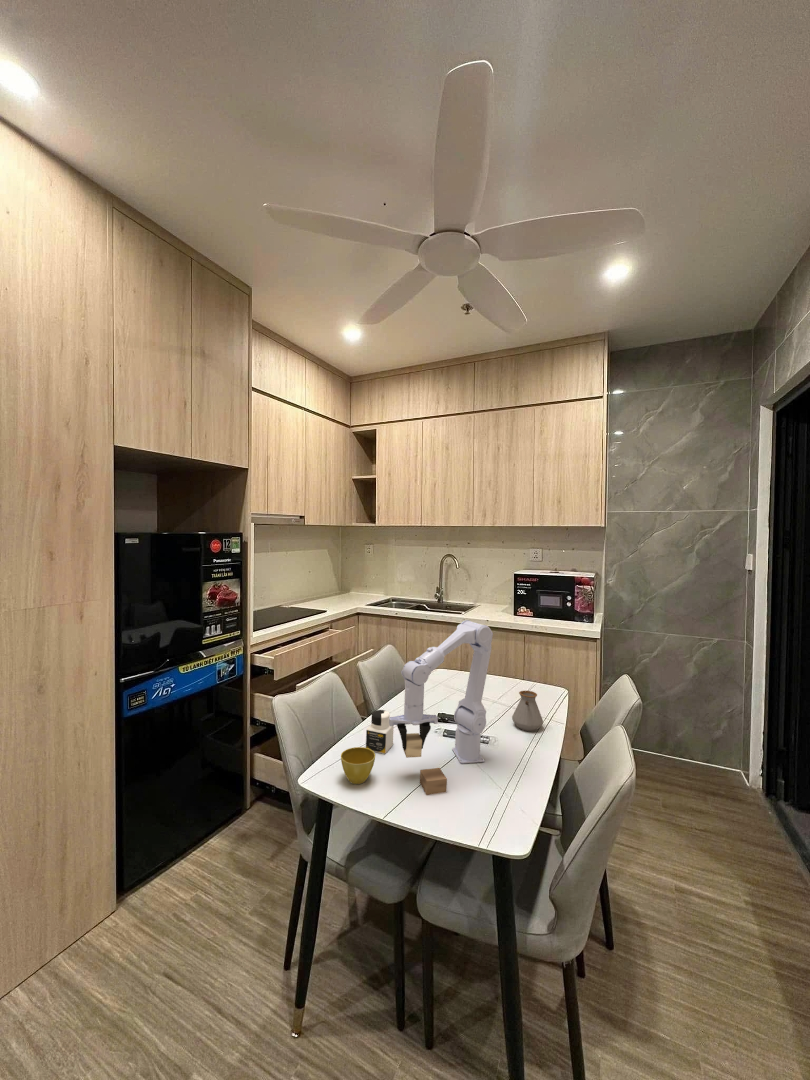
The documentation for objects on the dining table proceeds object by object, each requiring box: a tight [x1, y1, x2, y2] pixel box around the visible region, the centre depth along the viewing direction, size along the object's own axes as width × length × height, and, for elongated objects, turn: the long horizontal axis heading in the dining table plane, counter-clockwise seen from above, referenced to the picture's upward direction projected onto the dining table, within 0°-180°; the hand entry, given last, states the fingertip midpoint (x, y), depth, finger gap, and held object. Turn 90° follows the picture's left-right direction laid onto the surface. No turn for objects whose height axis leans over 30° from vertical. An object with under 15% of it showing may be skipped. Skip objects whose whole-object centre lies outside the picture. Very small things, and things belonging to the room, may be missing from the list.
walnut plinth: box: [419, 767, 448, 796], centre depth 126 cm, size 6×6×4 cm
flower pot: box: [340, 746, 376, 785], centre depth 128 cm, size 10×10×7 cm
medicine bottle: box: [365, 709, 395, 755], centre depth 148 cm, size 7×7×12 cm
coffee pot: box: [511, 690, 544, 732], centre depth 163 cm, size 21×12×15 cm, turn 161°
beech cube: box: [403, 732, 423, 759], centre depth 131 cm, size 4×4×5 cm
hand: (412, 747), depth 131 cm, fingers closed on beech cube, 4 cm apart
